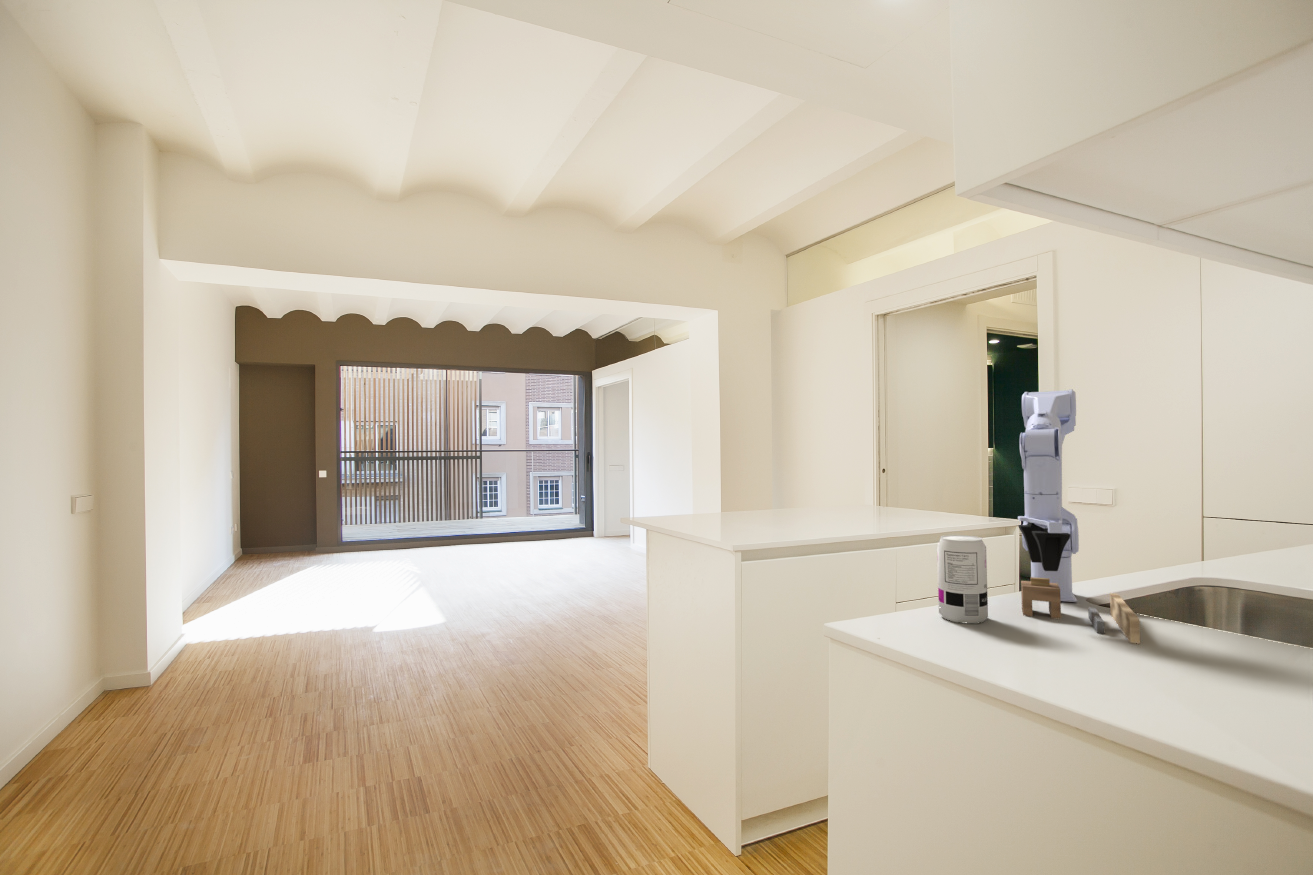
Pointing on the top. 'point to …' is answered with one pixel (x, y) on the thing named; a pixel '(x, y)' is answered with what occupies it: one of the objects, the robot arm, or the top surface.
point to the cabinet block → (1041, 595)
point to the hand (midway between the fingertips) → (1044, 566)
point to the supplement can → (962, 578)
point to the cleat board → (1118, 618)
